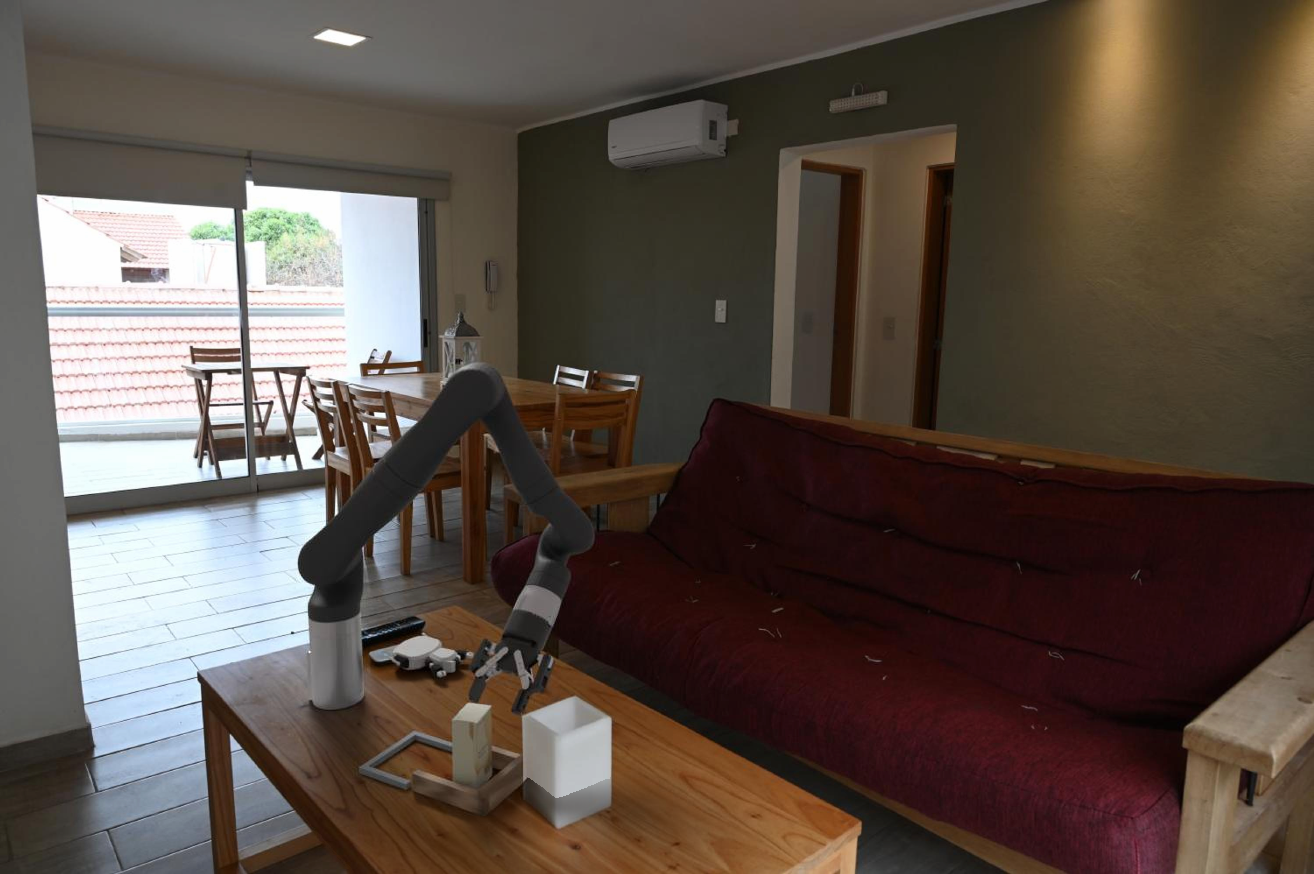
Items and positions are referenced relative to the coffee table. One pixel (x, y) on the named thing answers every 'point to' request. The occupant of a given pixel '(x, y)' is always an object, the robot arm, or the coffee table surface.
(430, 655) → the robot toy
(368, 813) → the coffee table surface
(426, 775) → the frame
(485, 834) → the coffee table surface
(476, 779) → the skincare box
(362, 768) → the bracket
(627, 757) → the coffee table surface
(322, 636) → the robot arm
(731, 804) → the coffee table surface
